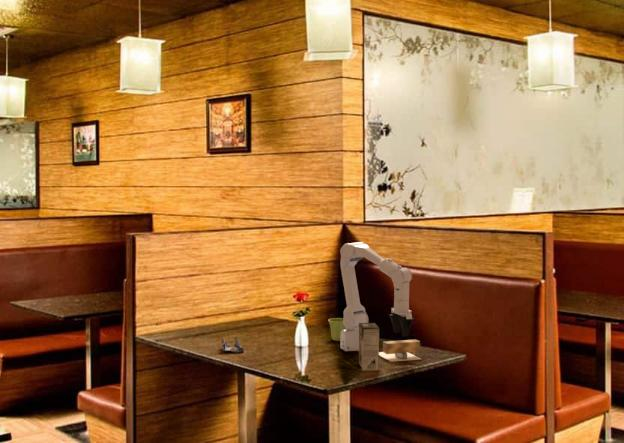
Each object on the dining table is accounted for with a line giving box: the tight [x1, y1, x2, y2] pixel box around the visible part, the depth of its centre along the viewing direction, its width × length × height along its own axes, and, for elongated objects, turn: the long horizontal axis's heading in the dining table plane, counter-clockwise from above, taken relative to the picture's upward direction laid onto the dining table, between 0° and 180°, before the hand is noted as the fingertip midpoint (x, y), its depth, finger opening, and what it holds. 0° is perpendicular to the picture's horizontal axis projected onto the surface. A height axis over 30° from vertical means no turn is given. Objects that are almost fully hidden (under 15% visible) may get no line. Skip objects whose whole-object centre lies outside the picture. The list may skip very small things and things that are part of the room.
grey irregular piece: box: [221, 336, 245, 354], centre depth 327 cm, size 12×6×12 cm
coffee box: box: [358, 322, 380, 372], centre depth 300 cm, size 9×6×16 cm
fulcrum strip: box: [395, 353, 407, 360], centre depth 313 cm, size 2×7×2 cm, turn 19°
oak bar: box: [382, 338, 421, 354], centre depth 313 cm, size 14×4×4 cm, turn 109°
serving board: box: [379, 351, 422, 363], centre depth 316 cm, size 13×16×1 cm
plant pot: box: [327, 317, 346, 342], centre depth 350 cm, size 9×9×9 cm
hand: (401, 334), depth 313 cm, fingers open, 7 cm apart
